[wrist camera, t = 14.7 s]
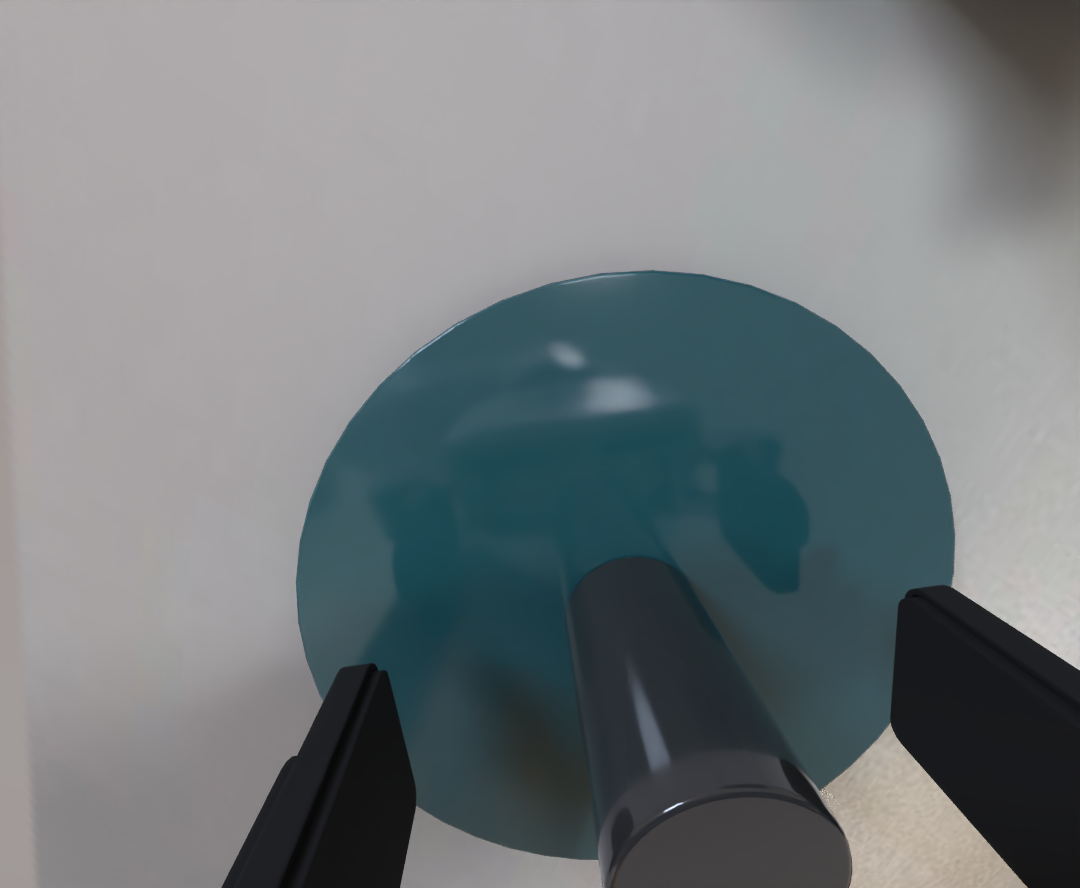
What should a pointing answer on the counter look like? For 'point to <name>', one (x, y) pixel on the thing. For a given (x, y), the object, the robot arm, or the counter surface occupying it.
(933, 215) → the counter surface
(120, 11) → the counter surface
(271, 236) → the counter surface
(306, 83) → the counter surface
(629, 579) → the saucepan lid
